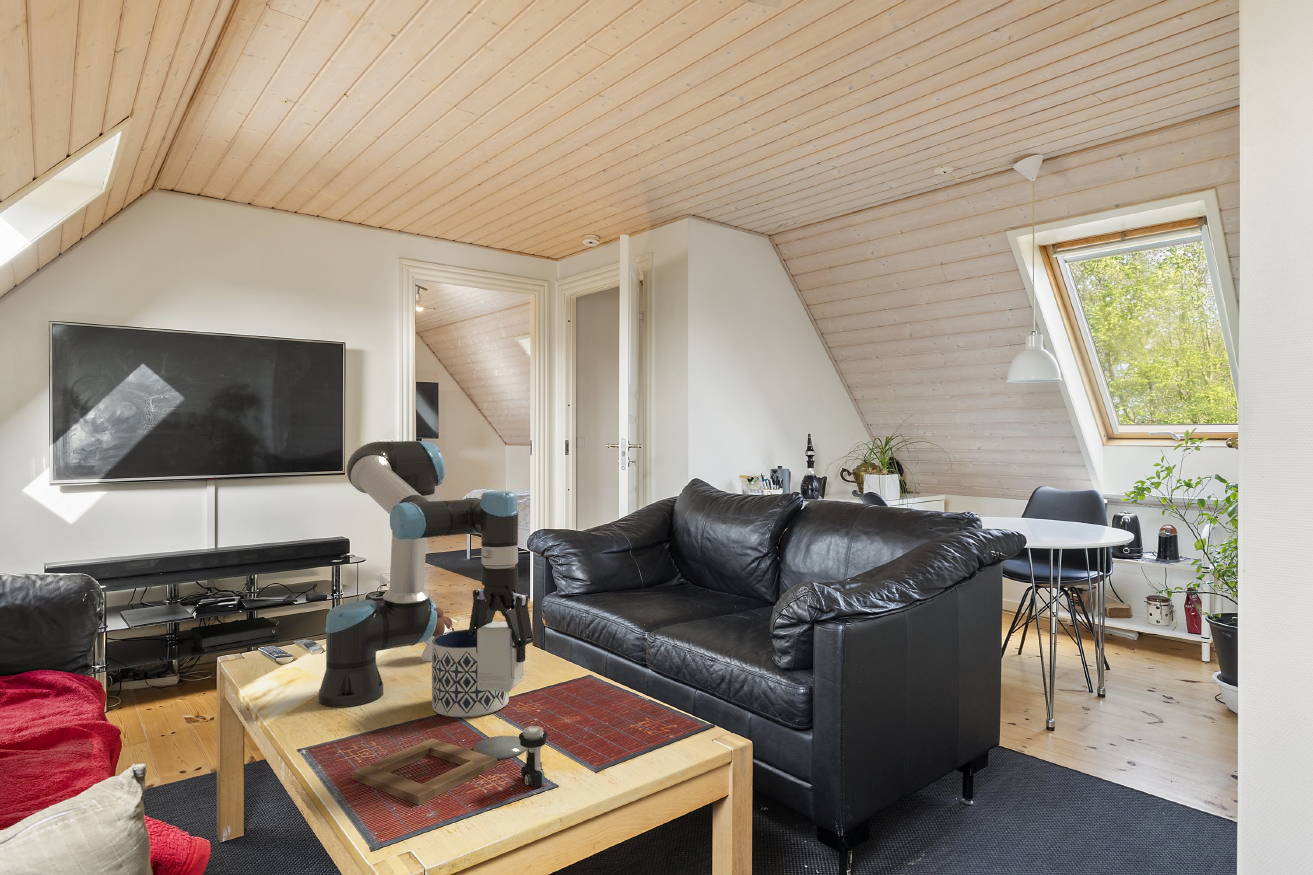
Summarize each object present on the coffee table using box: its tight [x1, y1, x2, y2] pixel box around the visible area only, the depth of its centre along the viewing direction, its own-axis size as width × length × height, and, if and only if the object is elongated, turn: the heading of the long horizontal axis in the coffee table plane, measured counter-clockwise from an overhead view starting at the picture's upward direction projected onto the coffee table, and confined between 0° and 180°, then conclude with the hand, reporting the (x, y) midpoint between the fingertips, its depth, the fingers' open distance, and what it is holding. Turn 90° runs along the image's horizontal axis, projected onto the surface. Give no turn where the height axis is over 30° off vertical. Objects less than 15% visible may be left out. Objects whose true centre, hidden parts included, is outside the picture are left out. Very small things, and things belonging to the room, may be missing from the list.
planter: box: [431, 628, 510, 719], centre depth 183 cm, size 18×18×16 cm
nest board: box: [352, 738, 498, 806], centre depth 146 cm, size 19×19×2 cm
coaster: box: [473, 735, 526, 761], centre depth 157 cm, size 11×11×1 cm
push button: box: [518, 725, 549, 789], centre depth 142 cm, size 7×5×10 cm
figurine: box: [420, 607, 453, 663], centre depth 224 cm, size 10×9×15 cm
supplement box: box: [477, 620, 524, 693], centre depth 157 cm, size 7×7×13 cm
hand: (500, 673), depth 157 cm, fingers closed on supplement box, 9 cm apart
